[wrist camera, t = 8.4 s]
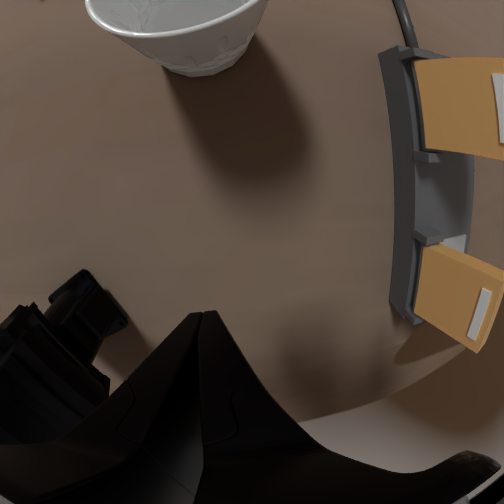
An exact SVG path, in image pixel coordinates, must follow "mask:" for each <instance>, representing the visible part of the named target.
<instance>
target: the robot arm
mask: <svg viewBox="0 0 504 504" xmlns="http://www.w3.org/2000/svg"><path fill="white" fill-rule="evenodd" d="M82 274H84V275H85V277H84V276H83V275H82ZM48 300H49V302H50V303H51V306H50V307H49V308H48V309H47V311H46V312H45V313H44V314H42V312H41V311H40V310H39V309H38V306H37V305H36V304H35V302H33V303H32V304H31V305H30V306H29V307H28V306H27V305H26V307H24V306H22V305H19V306H18V307H17V308H16V309H15V310H14V311H13V312H12V313H11V314H10V315H9V316H8V317H7V318H6V319H5V320H4V321H3V322H2V323H1V324H0V504H504V473H503V474H502V475H501V476H499V477H498V478H497V479H496V480H495V481H493V482H492V483H491V484H490V485H488V486H487V487H486V488H484V489H483V490H482V491H481V492H479V493H478V494H476V495H475V496H474V497H472V498H471V499H468V497H467V494H468V493H470V492H471V491H473V490H474V489H476V488H477V487H478V486H480V485H481V484H482V483H484V482H485V481H486V480H487V479H489V478H490V477H491V476H492V475H493V474H495V473H496V472H497V471H498V470H499V469H500V468H501V465H500V464H499V463H498V462H497V461H496V460H494V459H492V458H490V457H488V456H486V455H483V454H479V453H475V452H472V451H468V450H466V451H462V452H460V453H458V454H456V455H454V456H452V457H450V458H448V459H447V460H445V461H443V462H441V463H439V464H438V465H436V466H434V467H432V468H430V469H427V470H425V471H421V472H415V473H397V472H391V471H388V470H384V469H381V468H378V467H375V466H371V465H368V464H365V463H362V462H359V461H356V460H354V459H351V458H348V457H345V456H342V455H340V454H337V453H335V452H333V451H330V450H328V449H327V448H325V447H324V446H322V445H321V444H319V443H318V442H317V441H316V440H314V439H313V438H312V437H311V436H310V435H309V434H308V433H307V432H306V431H305V430H303V429H302V428H301V427H300V426H299V425H298V424H297V423H296V422H295V421H294V420H293V419H292V418H291V417H290V416H289V415H288V414H287V413H286V412H285V411H284V410H283V409H282V408H281V407H280V405H279V404H278V403H277V402H276V401H275V400H274V399H273V397H272V396H271V395H270V394H269V393H268V391H267V390H266V389H265V387H264V386H263V384H262V383H261V382H260V380H259V379H258V377H257V376H256V374H255V373H254V371H253V370H252V368H251V366H250V365H249V363H248V362H247V360H246V358H245V357H244V355H243V354H242V352H241V350H240V349H239V347H238V346H237V344H236V342H235V341H234V339H233V337H232V336H231V334H230V332H229V331H228V329H227V327H226V326H225V324H224V322H223V321H222V319H221V317H220V315H219V314H218V312H217V311H216V310H213V311H205V312H204V313H203V312H195V313H190V314H188V316H187V317H186V318H185V319H184V320H183V321H182V322H181V323H180V324H179V325H178V326H177V327H176V328H175V329H174V330H173V331H172V332H171V333H170V334H169V335H168V336H167V337H166V338H165V339H164V340H163V342H162V343H161V344H160V345H159V346H158V347H157V348H156V349H155V350H154V351H153V352H152V353H151V354H150V355H149V356H148V357H147V358H146V359H145V360H144V361H143V362H142V363H141V364H140V366H139V367H138V368H137V369H136V370H135V371H134V372H133V373H132V374H131V375H130V376H129V377H128V380H125V381H124V382H123V383H122V384H121V385H120V386H119V387H118V388H117V389H116V390H115V391H114V392H113V393H112V394H111V395H110V396H109V389H110V378H108V377H107V376H106V375H103V374H102V373H101V372H100V371H99V370H98V369H96V368H95V367H94V366H93V365H92V363H93V361H94V359H95V357H96V354H97V352H98V350H99V348H100V346H101V344H102V342H103V340H104V339H105V338H106V337H108V336H110V335H112V334H114V333H116V332H118V331H120V330H121V329H123V328H125V327H126V326H127V324H128V321H127V319H126V318H125V317H124V316H123V314H122V313H121V312H120V311H119V310H118V309H117V307H116V306H115V305H114V304H113V303H112V301H111V300H110V299H109V298H108V297H107V295H106V294H105V293H104V292H103V290H102V289H101V288H100V287H99V285H98V284H97V283H96V282H95V280H94V279H93V278H92V276H91V275H90V274H89V272H88V271H87V270H85V269H82V270H80V271H79V272H78V273H77V274H75V275H74V276H73V277H72V278H70V279H69V280H68V281H67V282H65V283H64V284H63V285H62V286H61V287H59V288H58V289H57V290H56V291H55V292H53V293H52V294H51V295H50V296H49V298H48ZM121 321H122V322H123V323H122V322H121Z"/></svg>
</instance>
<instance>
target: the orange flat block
mask: <svg viewBox="0 0 504 504" xmlns="http://www.w3.org/2000/svg"><path fill="white" fill-rule="evenodd" d="M503 292H504V271H503V270H501V269H499V268H496V267H494V266H492V265H490V264H488V263H485V262H483V261H481V260H479V259H476V258H474V257H472V256H470V255H467V254H465V253H463V252H460V251H458V250H455V249H453V248H450V247H448V246H446V245H443V244H441V243H436V244H431V245H427V246H426V245H424V244H423V243H422V242H421V251H420V261H419V269H418V277H417V283H416V290H415V296H414V302H413V307H412V312H413V313H414V314H416V315H418V316H420V317H421V318H423V319H424V320H426V321H428V322H429V323H431V324H432V325H434V326H435V327H437V328H439V329H440V330H442V331H443V332H445V333H446V334H448V335H449V336H451V337H453V338H454V339H456V340H457V341H459V342H460V343H462V344H463V345H465V346H466V347H468V348H469V349H471V350H472V351H474V352H475V353H478V352H479V350H480V349H481V348H482V346H483V345H484V344H485V342H486V340H487V337H488V335H489V332H490V330H491V327H492V325H493V322H494V319H495V317H496V314H497V311H498V308H499V305H500V302H501V299H502V296H503Z"/></svg>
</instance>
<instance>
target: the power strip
mask: <svg viewBox="0 0 504 504" xmlns="http://www.w3.org/2000/svg"><path fill="white" fill-rule="evenodd" d="M393 1H394V4H395V7H396V10H397V13H398V16H399V19H400V22H401V25H402V29H403V32H404V36H405V40H406V43H407V47H405V46H399V45H397V46H395V47H393V48H390V49H388V50H386V51H384V52H381V53H379V54H378V56H379V60H380V65H381V70H382V75H383V80H384V86H385V91H386V98H387V104H388V112H389V119H390V128H391V138H392V149H393V164H394V189H395V225H394V250H393V265H392V277H391V287H390V296H389V301H390V303H391V304H392V305H393V306H394V308H395V309H396V310H397V311H398V312H399V314H400V315H401V316H402V317H403V318H408V320H409V321H410V322H411V323H412V325H416V324H419V323H422V322H424V321H426V320H424V319H423V318H421V317H420V316H418V315H416V314H414V313H413V312H412V307H413V302H414V296H415V290H416V283H417V277H418V269H419V261H420V251H421V242H422V243H423V244H424V245H426V246H427V245H431V244H436V243H441V244H443V245H446V246H448V247H450V248H453V249H455V250H458V251H460V252H463V253H465V254H467V250H468V244H469V236H470V228H471V219H472V208H473V192H474V155H472V154H466V153H460V152H453V151H446V150H439V151H438V152H433V151H424V150H423V148H422V134H421V124H420V115H419V107H418V100H417V93H416V87H415V81H414V76H413V71H412V66H411V61H410V60H412V59H424V60H430V59H443V58H450V57H447V56H443V55H440V54H436V53H433V52H431V51H427V50H423V49H419V47H418V43H417V39H416V36H415V32H414V29H413V25H412V22H411V19H410V16H409V13H408V10H407V7H406V4H405V1H404V0H393Z"/></svg>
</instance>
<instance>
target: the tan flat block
mask: <svg viewBox="0 0 504 504" xmlns="http://www.w3.org/2000/svg"><path fill="white" fill-rule="evenodd" d="M410 61H411V66H412V71H413V76H414V81H415V87H416V93H417V100H418V107H419V115H420V124H421V134H422V148H423V150H424V151H433V152H438V151H439V150H446V151H453V152H460V153H466V154H472V155H478V156H483V157H488V158H493V159H498V160H503V161H504V58H491V57H462V58H443V59H430V60H424V59H412V60H410Z"/></svg>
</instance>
